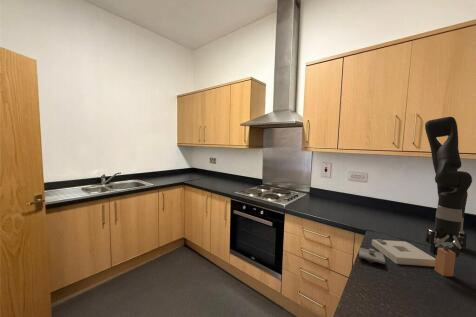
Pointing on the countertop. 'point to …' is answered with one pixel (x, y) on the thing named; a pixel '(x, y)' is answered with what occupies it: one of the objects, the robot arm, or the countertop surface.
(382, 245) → the socket
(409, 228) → the countertop surface
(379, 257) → the light switch
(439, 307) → the countertop surface
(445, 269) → the plug
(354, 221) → the countertop surface
